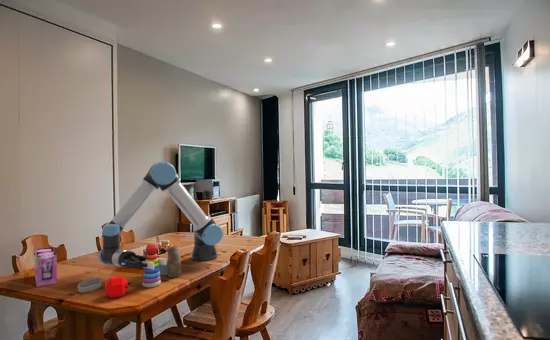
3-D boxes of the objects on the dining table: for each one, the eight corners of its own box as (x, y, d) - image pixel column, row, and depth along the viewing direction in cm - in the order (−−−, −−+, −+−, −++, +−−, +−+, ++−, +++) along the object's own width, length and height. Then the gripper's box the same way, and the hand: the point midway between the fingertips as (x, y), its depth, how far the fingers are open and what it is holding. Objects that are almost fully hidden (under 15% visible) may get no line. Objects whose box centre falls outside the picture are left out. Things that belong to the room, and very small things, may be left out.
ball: (128, 297, 132) (127, 278, 132) (106, 301, 128) (105, 281, 128) (126, 291, 139) (126, 273, 139) (105, 294, 135) (105, 276, 135)
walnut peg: (180, 273, 162) (180, 245, 162) (181, 277, 156) (180, 248, 156) (168, 275, 160) (167, 246, 160) (168, 278, 154) (167, 249, 154)
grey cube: (168, 271, 167) (168, 259, 167) (168, 274, 161) (168, 262, 161) (156, 272, 165) (156, 260, 165) (155, 276, 159) (155, 263, 159)
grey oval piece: (99, 285, 147) (99, 274, 147) (103, 289, 142) (103, 277, 142) (76, 290, 141) (76, 279, 141) (79, 294, 136) (79, 282, 136)
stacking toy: (154, 288, 141) (153, 245, 141) (138, 287, 142) (137, 245, 143) (164, 282, 149) (163, 241, 149) (148, 281, 150) (148, 241, 150)
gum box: (57, 284, 150) (57, 254, 150) (36, 288, 145) (36, 257, 145) (53, 272, 168) (53, 246, 169) (34, 275, 164) (34, 249, 164)
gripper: (141, 261, 163) (175, 266, 152) (106, 272, 146) (142, 278, 135) (141, 246, 163) (175, 250, 152) (106, 255, 146) (141, 260, 135)
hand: (159, 263), depth 143 cm, fingers closed on stacking toy, 6 cm apart
